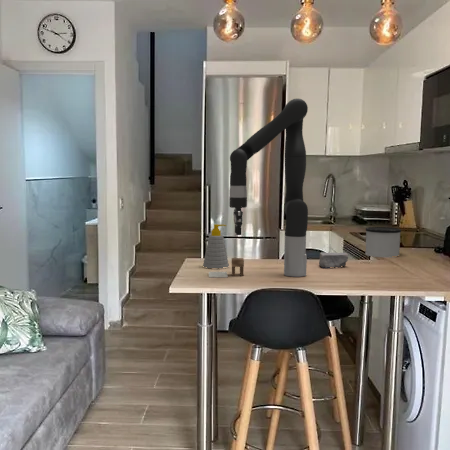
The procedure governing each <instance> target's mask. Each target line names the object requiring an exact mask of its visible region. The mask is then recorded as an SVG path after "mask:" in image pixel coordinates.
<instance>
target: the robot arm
mask: <svg viewBox="0 0 450 450" xmlns="http://www.w3.org/2000/svg"><path fill="white" fill-rule="evenodd" d="M308 108H309V107H308V104H307V102H306V101H305V100H304V99H301V98H292V99H291V100H289V101H287V103H286V104H285V105H284V107H283V109H282V111H281V112H280V113H279V114H278V115H277V116H276V117H274V118H273V119H272V120H271V121H269V122H268V123H267V124H265V125H264V126H262V127H261V128H260V129H259V130H257V131H256V132H255V133H253V135H251V136H250V137H249V138H248V139H247V140H246V141H245V142H244V143H242V144H241V145H240V146H239V147H237V148H236V149H233V151H232V152H231V153H230V155H229V161H230V176H229V204H228V206H229V208H232V209H234V210H233V213H232V214H233V222H234V223H233V224H234V233H235V235H236V236H242V226H243V221H244V220H243V218H244V211H242V209H243V208H244V209H245V208H248V189H247V168H248V166H247V165H248V161H249V160H250V159H251V158H252V157H253V156H254V155H256V154H257V153H259V152H260V151H262V150H263V149H264V148H266V147H267V145H269V144H270V143H271V142H272V141H273V140H274V139H275V138H276V137H277V136H279V134H280V133H281V134H282V132H283V131H284V130H285V141H284V178H285V200H284V209H283V211H284V214H285V217H286V218H285V229H284V249H283V252H284V254H283V258H284V259H283V274H284V276H286V277H306V276H307V267H308V265H307V263H308V260H307V257H308V255H307V252H306V250H307V249H306V248H307V232H308V231H307V230H308V221H309V220H308V217H309V208H308V207H309V206H308V205H307V203H306V202H305V201H304V181H305V176H306V172H307V151H306V144H305V141H304V136H303V126H304V119H305V118H306V116H307V113H308V110H309V109H308Z"/></svg>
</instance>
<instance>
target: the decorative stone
mask: <svg viewBox="0 0 450 450" xmlns="http://www.w3.org/2000/svg"><path fill="white" fill-rule="evenodd" d="M348 261H349V254H348V253H345V252H332V251H331V252H330V251H329V252H324V251H323V252H322V251H321V252H320V253H319V261H318V265H319V267H320V266H321V267H322V268H321V267H320V268H321V269H331V268H330V267H341V266H345V267H346V265H347V262H348ZM341 268H342V267H341Z"/></svg>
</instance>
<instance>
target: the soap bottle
mask: <svg viewBox="0 0 450 450" xmlns="http://www.w3.org/2000/svg"><path fill="white" fill-rule="evenodd" d="M219 227H227V224H217V223H216V224H213V228H212V230H211V234H210V235H209V236H208V240H207V244H206V250H205V254H204V259H203V263H202V267H203V266H204V267H207V268H223V267H228V266H230V265H229V260H228V253H227V250H226V249H227V248H226V243H225V239H224V235H222V232H221V231H222V230H220V228H219ZM204 267H203V268H204ZM207 268H206V269H207ZM228 268H229V267H228Z"/></svg>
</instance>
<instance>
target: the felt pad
mask: <svg viewBox="0 0 450 450" xmlns="http://www.w3.org/2000/svg"><path fill="white" fill-rule="evenodd" d="M228 277H229V276H228V272H227V271H208V278H228Z"/></svg>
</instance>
